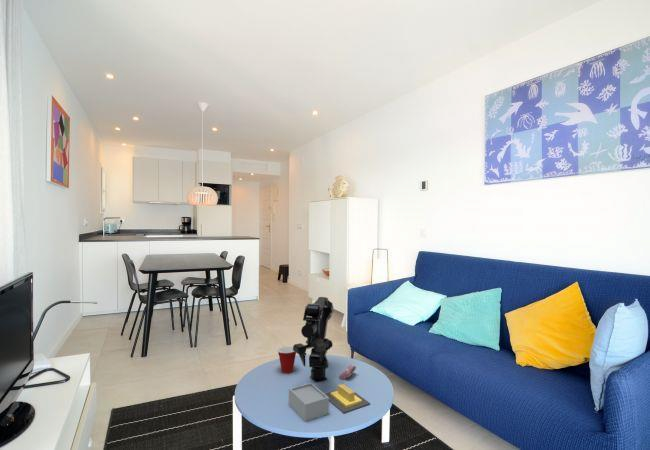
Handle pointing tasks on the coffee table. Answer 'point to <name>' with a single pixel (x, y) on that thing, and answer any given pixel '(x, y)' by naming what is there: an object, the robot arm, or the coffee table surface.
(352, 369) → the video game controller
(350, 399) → the lid
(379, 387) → the coffee table surface
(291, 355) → the plastic cup
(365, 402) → the mat
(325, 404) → the box
